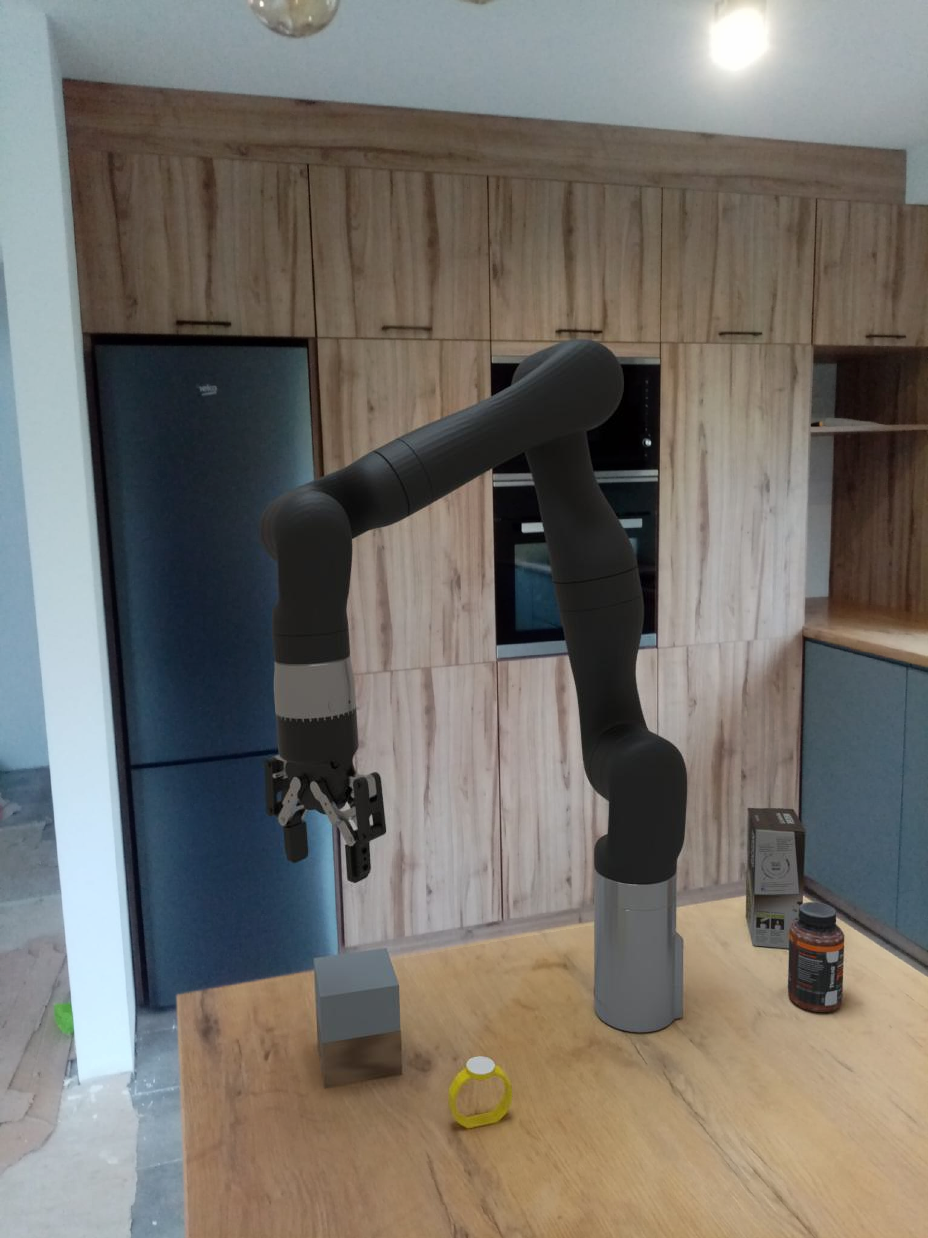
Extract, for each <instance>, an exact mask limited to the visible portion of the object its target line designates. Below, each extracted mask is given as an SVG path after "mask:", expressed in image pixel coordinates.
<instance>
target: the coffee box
mask: <svg viewBox="0 0 928 1238" xmlns="http://www.w3.org/2000/svg"><path fill="white" fill-rule="evenodd" d="M746 809H747V816H746V817H747V818H746V819H747V820H746V869H745V870H746V871H745V872H746V873H745V874H746V876H745V878H746V880H745V881H746V882H745V883H746V884H745V919H746V923H747V926H748V931H749V934H750V935H749V936H750V939H751V943H752V945H753V946H754V947H755V946H757V947H768V948H769V947H770V948H778V949H788V950H789V932H790V926H791V924H792V923H793V922H794V921H795V920H797V919H799V917H798V914H799V906H800V905H801V904H803V903H804V885H805V884H804V883H805V882H804V881H805V880H804V879H805V860H806V859H805V857H806V855H805V853H806V833H807V832H806V829H805V827H804V826H803V824H802V822H801V819H799V816H798V815H797V813H796V811H795V809H793V808H781V807H780V808H779V807H778V808H777V807H775V808H773V807H772V808H771V807H764V808H760V807H759V808H758V807H757V808H756V807H747V808H746Z"/></svg>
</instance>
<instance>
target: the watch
mask: <svg viewBox="0 0 928 1238" xmlns="http://www.w3.org/2000/svg"><path fill="white" fill-rule="evenodd" d="M494 1076H496V1077H498V1078H501V1080H502V1082H503V1085H504V1086H503V1087H504V1092H503V1095H502V1097H501V1100H500V1102H499V1103H498V1104H497V1106H495V1108H494V1109H493V1110H492V1111H489V1112H485V1113H480V1114H475V1115H471V1116H465V1115H464V1114H463V1113H461V1112H459V1111H458V1110H457V1108H456V1107H457V1106H456V1105H457V1096H458V1094H459V1092H460V1090H461V1088H462V1087H463V1086H464V1085H465V1084H466V1083H467V1082H468V1081H469V1080H471V1079H473V1080H475V1081H487V1080H489V1079H491V1078H493V1077H494ZM447 1100H448V1105H449V1108H450V1111H451V1112H452V1115H453V1117H454V1119H455V1121H456V1122H457V1123H458V1124H459V1125H460V1126H462V1127H463V1128H466V1129H467V1130H469V1129H473V1128H479V1127H482V1126H486V1125H488V1126H489V1125H493V1124H494V1125H495V1124H498V1123H499V1122H500V1121H501V1119H502V1118H503V1117H504V1116H505V1115H506V1114H507V1112H509V1109H510V1106H511V1103H512V1101H513V1087H512V1085H511V1082H510V1080H509V1078H508V1075H506V1073H505V1071H504V1070H503V1069H502V1068H501V1067H500V1066H499V1065H496V1064H495V1062H494V1060H492V1059H491V1058H489V1057H487V1056H482V1055H480V1056H474V1057H471V1058H470V1059H468V1060H467V1061H466V1063H465V1068H463V1069H462V1070H461V1071H460V1072H459V1073H457V1074H456V1076H455V1077H454V1079H453V1080H452V1083H451V1084H450V1086H449V1090H448V1099H447Z"/></svg>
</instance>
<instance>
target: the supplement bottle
mask: <svg viewBox="0 0 928 1238" xmlns="http://www.w3.org/2000/svg"><path fill="white" fill-rule="evenodd" d="M798 917H799V919H797V920H795V921H794V922H793V923H792V924H791V926H790V932H789V949H788V961H787V962H788V965H787V967H788V970H787V971H788V972H787V994H788V996H789V999H790V1000H791V1001H792V1002H793V1003H794V1004H795V1005H797V1006H798V1007H799V1008H802V1009H804V1010H807V1011H811V1012H814V1013H815V1012H816V1013H830V1012H831V1013H832V1012H834V1011H836V1010H838V1009H840V1007H841V1006H842V1001H843V991H844V990H843V989H844V986H843V983H844V960H845V959H844V957H845V956H844V955H845V933H844V931H843V930H842V929H841V927H840V926H838V925H837V911H836V909H835V908H834V907H832V906H831V905H828V904H826V903H823V902H815V901H812V902H811V901H810V902H809V901H807V902H803V904H801V905H800V906H799V914H798Z"/></svg>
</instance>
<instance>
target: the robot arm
mask: <svg viewBox="0 0 928 1238" xmlns="http://www.w3.org/2000/svg"><path fill="white" fill-rule="evenodd" d="M624 384H625V381H624V373H623V367H622V365H621V364H620V361H619V359H618V358H617V356H616V355H615V354H614V352H613V351H612V350H611V349H609V348H608V347H607V346H606V345H604V344H602V343H600V342H599V341H595V340H592V339H588V338H587V339H586V338H575V339H569V340H564V341H562V342H558V343H556V344H554V345H551V346H549V347H546V348H543V349H541V350H539V351H536V352H533V353H532V354H530V355H529V356H527V357H526V358H524V359H523V360H522V361H520V363H519V365H518V366H517V367H516V370H515V371H514V373H513V376H512V380H511V385H510V386H508V387H506V388H504V389H503V390H501V391H499V392H497V393H496V394H493V395H492V396H490V397H488V398H485V399H484V400H481V401H480V402H477V403H475V404H472V405H471V406H468V407H466V408H464V409H460V410H459V411H457V412H453V413H452V414H448V415H446V416H444V417H442V418H440V419H435V420H434V421H432V422H429V423H427V424H424V425H423V426H420V427H418V428H415V429H414V430H411V431H409V432H407V433H405V434H403V435H400V436H399V437H396V438H395V439H393V440H392V441H389V442H387V443H384V444H383V445H381V446H380V447H377V448H375V449H373V450H372V451H370V452H368V453H366V454H365V455H363V456H361V457H359V458H358V459H356V460H355V461H353V462H352V463H349V464H348V465H347V466H344V467H343V468H340V469H339V470H335V471H333V472H331V473H328V474H326V475H323V476H321V477H318V478H316V479H314V480H311V481H309V482H307V483H304V484H301V485H300V486H298V487H295V488H294V489H291V490H289V491H287V492H284V493H282V495H280V496H277V497H276V498H275V499H273V500H272V501H271V502H270V503H269V504H268V505H267V506H266V508H265V509H264V511H263V512H262V513H261V515H260V516H261V517H260V519H259V524H258V538H259V542H260V544H261V546H262V548H263V549H264V551H265V552H266V554H268V555H269V557H270V558H271V559H272V560H274V561H275V562H277V583H278V584H277V585H278V589H277V590H278V600H277V602H275V604H274V606H273V608H272V613H271V615H272V616H271V629H272V644H273V645H272V647H273V660H274V671H273V672H274V674H273V697H274V708H275V709H274V710H275V721H276V722H275V723H276V735H277V749H278V750H277V751H278V754H277V755H274V756H271V757H269V758H266V759H265V760H264V762H263V763H264V764H263V765H264V789H265V792H264V793H265V811H266V813H267V815H268V816H269V817H274V816H275V817H276V818H277V819H278V820H277V821H278V823H279V825H280V826H281V827H282V828H283V829H282V830H283V842H284V850H285V855H286V860H287V861H288V862H289V863H292V864H296V863H299V862H301V861H303V860H305V859H307V858H308V856H309V845H308V844H309V842H308V831H307V830H308V828H307V821H305V820H303V819H304V818H305V817H306V814H307V812H308V811H317V812H318V813H320V814H322V815H326V816H327V819H328V821H329V822H330V823H331V826H333V827H337V829H338V830H339V832H340V834H341V835H342V838H343V839H344V841H345V844H344V849H345V850H344V852H345V866H346V879H347V881H348V882H351V883H352V884H357V883H359V882H362V881H363V880H365V879H366V878H368V876H369V874H370V873H371V869H372V863H371V861H372V860H371V846H370V843H371V841H373V840H375V839H377V838H380V837H382V836H384V835H385V834H386V833H387V825H386V816H385V813H386V812H385V803H384V796H383V795H384V793H383V785H382V777H381V775H380V773H378V772H377V771H374V772H371V773H369V774H368V773H367V774H360V773H357V771H356V768H355V766H354V757H355V755H356V753H357V751H358V749H359V732H358V731H359V730H358V728H359V727H358V714H357V699H356V698H357V697H356V684H355V682H356V681H355V675H354V669H353V665H352V661H351V659H352V658H351V648H350V647H351V645H350V628H349V620H348V612H347V607H348V600H349V594H350V586H351V575H352V566H353V564H352V563H353V540H354V539H355V538H358V537H359V536H361V535H364V534H365V533H367V532H369V531H372V530H376V529H380V528H385V527H386V528H387V527H389V526H391V525H394V524H396V523H399V522H401V521H403V520H405V519H406V518H408V517H410V516H412V515H414V514H415V513H417V512H419V511H421V510H423V509H424V508H426V507H428V506H430V505H432V504H433V503H435V502H437V501H438V500H440V499H442V498H444V497H445V496H447V495H449V494H452V493H453V492H454V491H456V490H458V489H460V488H461V487H464V485H466V484H468V483H470V482H471V481H473V480H475V479H477V478H478V477H480V476H482V475H483V474H485V473H487V472H488V471H490V470H492V469H494V468H495V467H498V466H499V465H501V464H503V463H505V462H508V461H509V460H511V459H513V458H516V457H517V456H519V455H521V454H523V453H524V454H525V458H526V460H527V464H528V467H529V470H530V473H531V477H532V481H533V484H534V488H535V493H536V498H537V501H538V507H539V513H540V518H541V524H542V529H543V535H544V537H545V543H546V548H547V551H548V557H549V563H550V564H549V565H550V570H551V577H552V584H553V588H554V594H555V599H556V604H557V609H558V614H559V617H560V621H561V625H562V630H563V636H564V640H565V645H566V651H567V655H568V660H569V664H570V668H571V674H572V676H573V680H574V685H575V692H576V699H577V707H578V708H577V709H578V718H579V726H580V727H579V728H580V742H581V754H582V763H583V769H584V773H585V775H586V778H587V780H588V782H589V784H590V786H591V787H592V789H594V791H595V792H596V793H597V794H598V795H600V796H601V798H603V799H604V800H605V801H607V802H608V819H607V833H605V834H604V835H602V836H600V837H599V838H598V839H597V840H596V842H595V844H594V849H593V904H594V905H593V911H594V912H593V923H594V924H593V929H594V930H593V938H594V939H593V940H594V941H593V943H594V944H593V950H594V953H593V963H594V964H593V968H594V969H593V983H594V984H593V998H594V999H593V1002H594V1003H593V1004H594V1005H593V1006H594V1011H595V1014H596V1016H597V1017H598V1018H600V1020H602V1022H604V1023H605V1024H607V1025H609V1026H610V1027H613V1028H616V1029H619V1030H620V1031H621V1030H622V1031H625V1032H631V1033H651V1032H656V1031H660V1030H662V1029H664V1028H666V1027H667V1026H669V1025H670V1024H672V1022H673V1021H675V1020H676V1019H681V1018H682V1019H683V1016H684V1015H683V1013H684V1008H683V1007H684V1000H683V999H684V945H685V944H684V939H683V936H682V935H681V934H680V933H679V932H677V895H678V894H677V893H678V892H677V889H678V888H677V884H678V883H677V882H678V881H677V880H678V877H677V873H678V872H677V871H678V859H679V856H680V854H681V852H682V850H683V848H684V847H683V846H684V845H685V844H684V842H685V836H686V819H687V805H688V802H687V801H688V772H687V767H686V762H685V759H684V756H683V754H682V752H681V750H679V748H678V747H677V746H676V745H675V744H674V743H672V742H671V741H670V740H668V739H666V738H665V737H663V736H660V735H659V734H657V733H655V732H653V731H651V730H649V728H648V726H647V722H646V720H645V716H644V713H643V709H642V704H641V700H640V695H639V690H638V684H637V661H638V654H639V649H640V644H641V640H642V639H641V638H642V635H643V628H644V619H645V617H644V616H645V606H644V605H645V604H644V595H643V589H642V585H641V584H642V583H641V579H640V573H639V567H638V561H637V557H636V554H635V549H634V546H633V544H632V542H631V540H630V538H629V536H628V533H627V532H626V531H627V530H626V529H625V528H624V526H623V524H622V522H621V521H620V519H619V518H618V516H617V515H616V513H615V511H614V510H613V508H612V506H611V505H610V503H609V502H608V500H607V498H606V496H605V494H604V493H603V491H602V490H601V487H600V485H599V483H598V480H597V478H596V475H595V472H594V468H593V463H592V460H591V454H590V452H591V451H590V447H589V442H588V436H587V432H588V431H590V430H593V429H595V428H598V427H599V426H601V425H603V424H604V423H605V422H606V421H608V420H609V418H610V417H612V416H613V414H614V413H615V411H617V409H618V407H619V405H620V403H621V400H622V398H623V393H624V389H625V388H624V387H625V385H624ZM278 793H280V796H281V797H280V799H281V800H278ZM347 804H348V806H349V809H347V810H346V809H345V810H344V811H343V810H342V809H343V808H344V807H345V806H346V805H347ZM370 818H372V824H371V820H370ZM350 820H351V821H353V823H354V825H355V826H356V829H354V828H353V826H352V824H351V822H350Z"/></svg>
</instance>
